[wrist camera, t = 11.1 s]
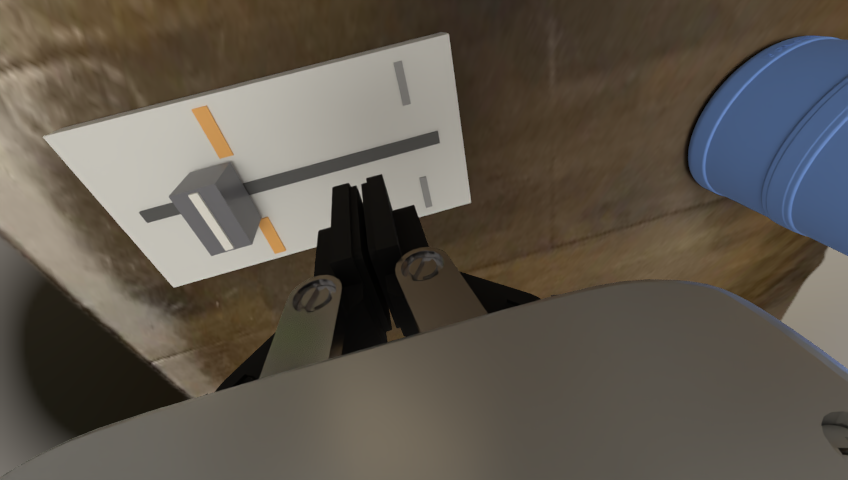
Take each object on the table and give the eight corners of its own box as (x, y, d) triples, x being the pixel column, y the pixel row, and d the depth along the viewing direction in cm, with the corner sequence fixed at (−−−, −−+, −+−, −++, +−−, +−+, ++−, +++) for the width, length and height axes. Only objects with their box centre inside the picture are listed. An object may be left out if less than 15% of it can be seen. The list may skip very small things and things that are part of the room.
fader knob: (230, 161, 25) (214, 185, 22) (261, 217, 28) (251, 246, 25) (189, 172, 25) (166, 198, 22) (225, 227, 28) (210, 257, 25)
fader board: (441, 32, 26) (449, 33, 24) (464, 193, 34) (471, 203, 32) (62, 128, 24) (40, 137, 22) (181, 273, 32) (172, 289, 31)
